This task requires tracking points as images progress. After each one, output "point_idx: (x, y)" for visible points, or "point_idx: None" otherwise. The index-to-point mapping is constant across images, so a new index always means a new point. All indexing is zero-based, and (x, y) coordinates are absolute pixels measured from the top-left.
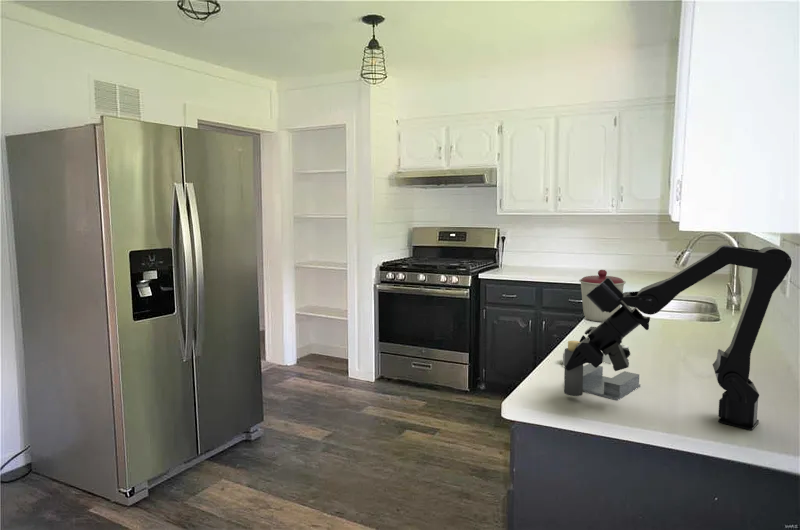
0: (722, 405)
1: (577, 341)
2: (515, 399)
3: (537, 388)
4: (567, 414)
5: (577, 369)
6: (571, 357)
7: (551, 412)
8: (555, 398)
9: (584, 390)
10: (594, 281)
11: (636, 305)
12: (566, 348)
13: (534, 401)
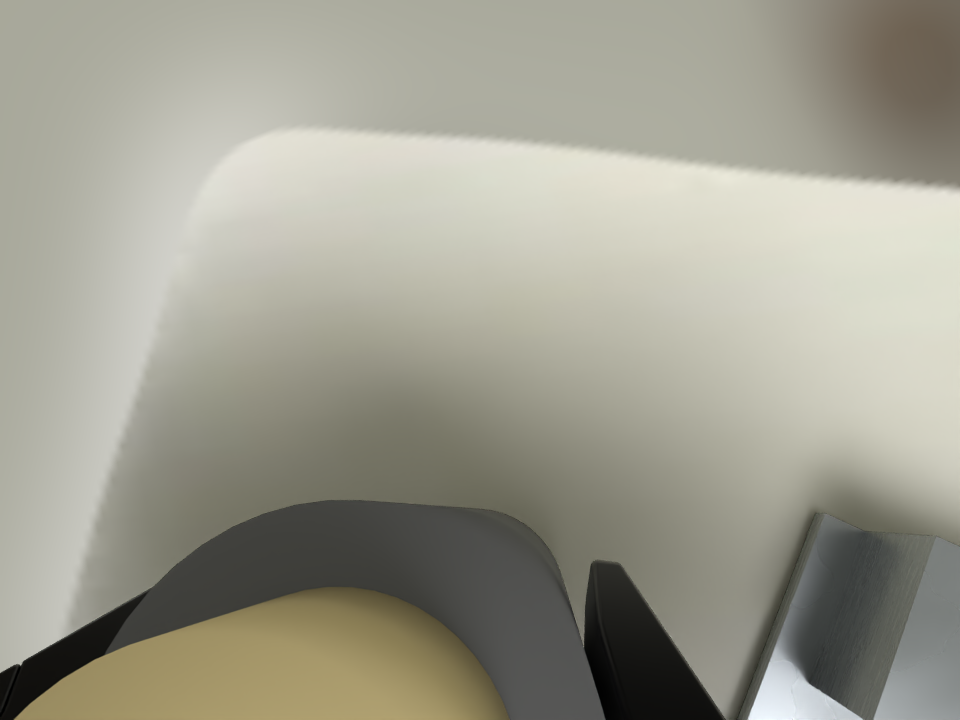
0: None
1: None
2: (353, 151)
3: (673, 268)
4: (128, 552)
5: None
6: (21, 676)
7: (147, 429)
8: (465, 437)
9: (748, 710)
10: None
11: None
12: (453, 541)
13: (347, 284)
